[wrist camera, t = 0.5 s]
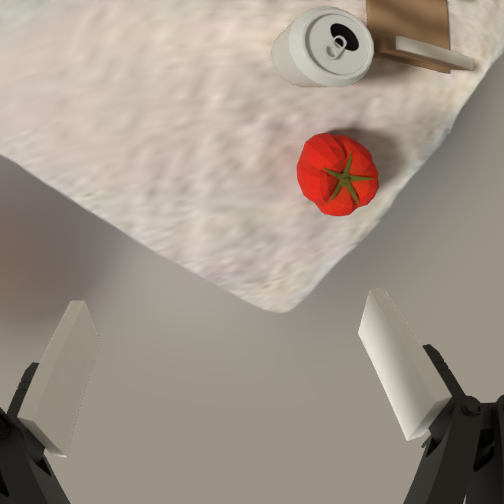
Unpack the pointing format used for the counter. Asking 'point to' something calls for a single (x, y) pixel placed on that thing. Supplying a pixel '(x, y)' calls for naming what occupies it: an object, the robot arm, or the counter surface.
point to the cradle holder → (414, 34)
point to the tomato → (337, 174)
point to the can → (323, 49)
